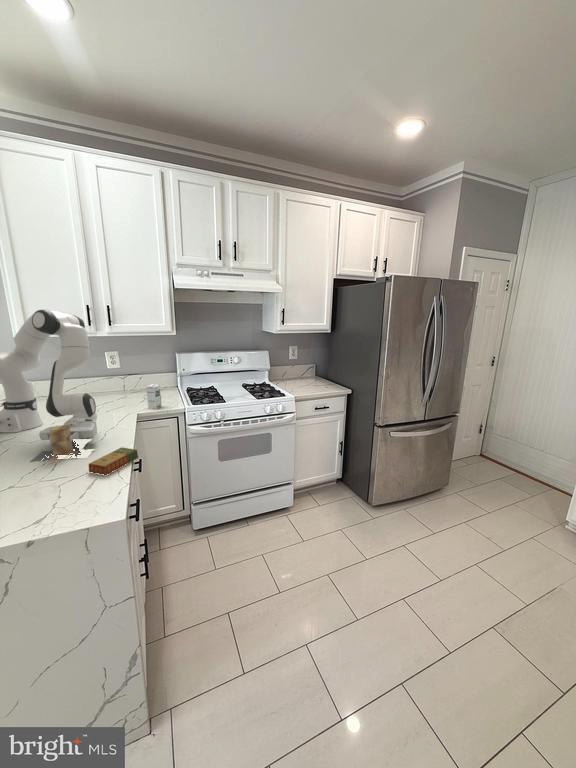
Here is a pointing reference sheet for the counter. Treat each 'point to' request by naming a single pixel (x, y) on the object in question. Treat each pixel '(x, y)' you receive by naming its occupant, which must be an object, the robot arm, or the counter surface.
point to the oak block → (61, 440)
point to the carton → (113, 461)
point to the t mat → (48, 453)
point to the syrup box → (153, 396)
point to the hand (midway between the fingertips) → (60, 439)
